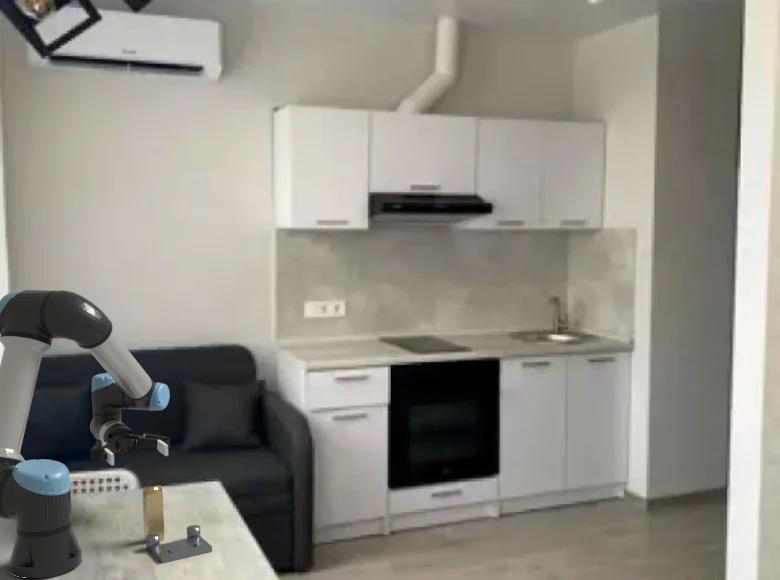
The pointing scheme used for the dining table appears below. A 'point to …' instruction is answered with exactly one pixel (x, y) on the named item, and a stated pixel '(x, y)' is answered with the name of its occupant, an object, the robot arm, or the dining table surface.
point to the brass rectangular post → (153, 511)
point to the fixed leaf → (178, 546)
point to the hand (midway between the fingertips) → (140, 455)
